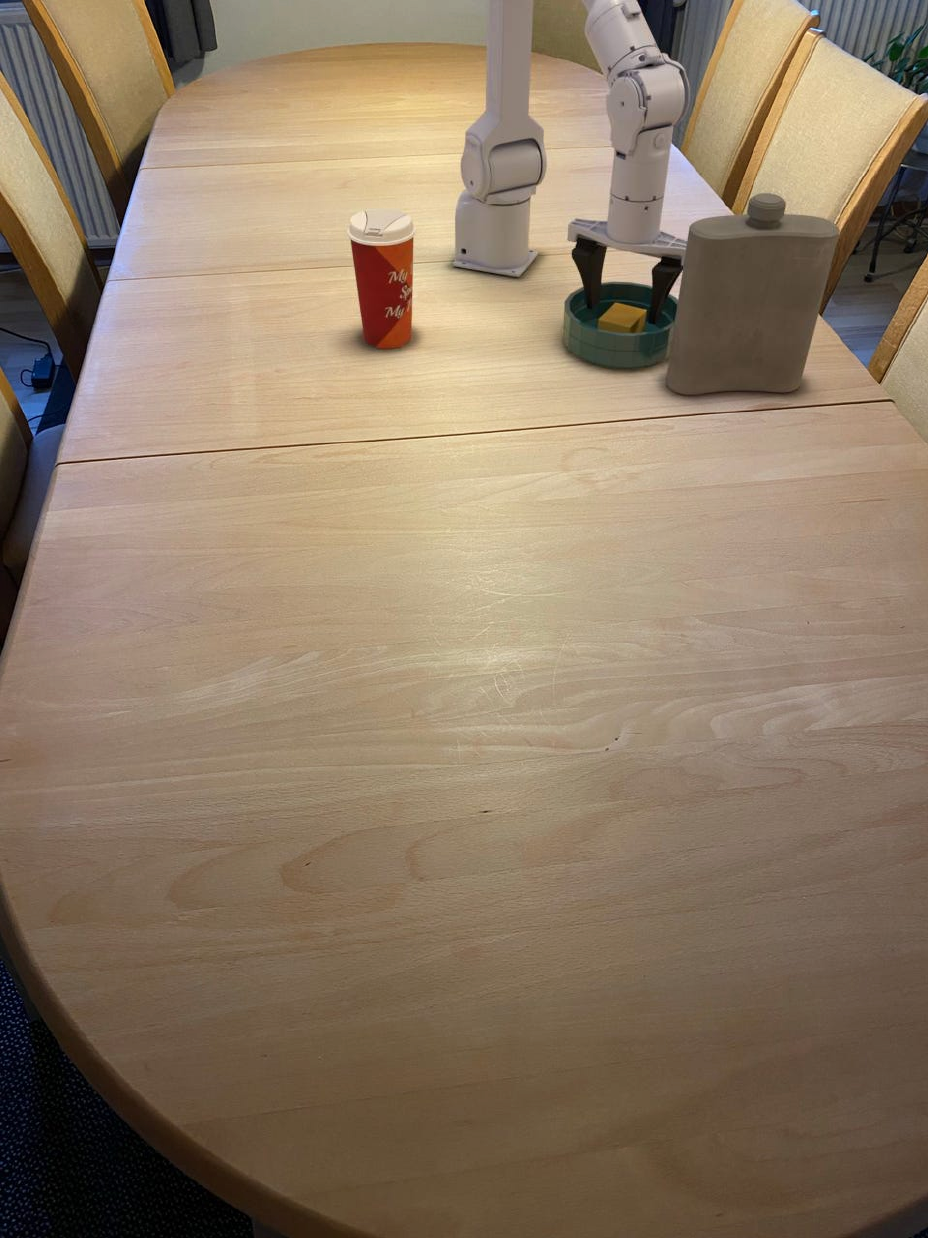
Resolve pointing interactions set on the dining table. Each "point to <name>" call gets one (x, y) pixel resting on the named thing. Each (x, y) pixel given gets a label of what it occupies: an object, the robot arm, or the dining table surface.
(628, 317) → the yellow block
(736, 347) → the flask
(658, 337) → the bowl
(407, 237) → the paper cup
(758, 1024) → the dining table surface
